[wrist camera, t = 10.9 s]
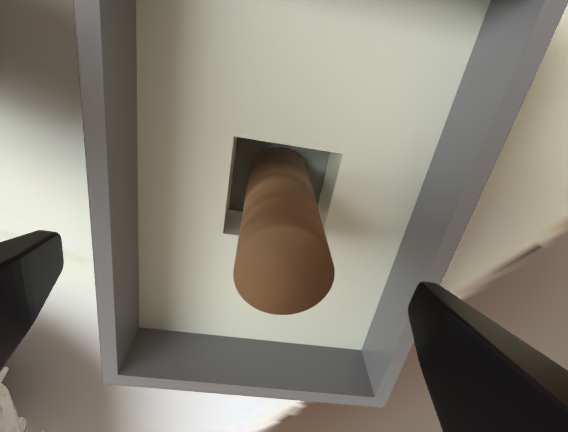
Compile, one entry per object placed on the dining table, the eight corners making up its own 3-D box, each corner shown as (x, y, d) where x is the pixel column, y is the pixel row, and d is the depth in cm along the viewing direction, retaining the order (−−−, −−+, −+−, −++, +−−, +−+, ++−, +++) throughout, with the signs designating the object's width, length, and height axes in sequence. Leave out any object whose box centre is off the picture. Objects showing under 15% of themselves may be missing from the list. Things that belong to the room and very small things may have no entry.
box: (141, 303, 25) (102, 383, 19) (139, -87, 16) (61, -160, 10) (359, 327, 27) (383, 407, 21) (479, -12, 17) (585, -36, 11)
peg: (245, 197, 22) (228, 309, 13) (253, 141, 20) (239, 225, 11) (301, 205, 22) (322, 319, 13) (313, 151, 21) (345, 239, 12)
